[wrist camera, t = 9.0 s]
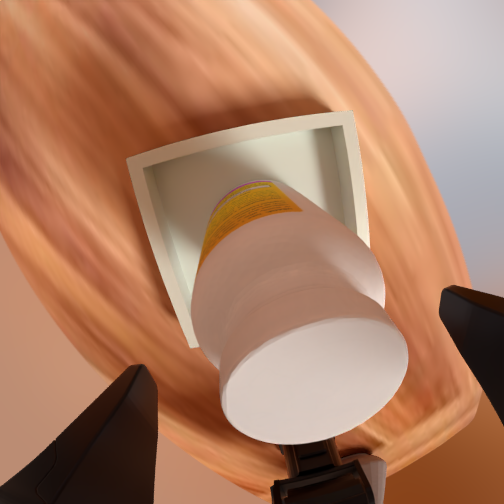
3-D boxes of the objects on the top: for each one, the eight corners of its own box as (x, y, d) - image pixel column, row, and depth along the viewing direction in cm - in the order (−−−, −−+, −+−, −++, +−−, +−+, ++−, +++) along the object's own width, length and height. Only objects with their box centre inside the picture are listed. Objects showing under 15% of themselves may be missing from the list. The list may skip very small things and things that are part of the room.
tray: (357, 288, 21) (371, 305, 18) (193, 327, 21) (190, 348, 18) (336, 114, 16) (352, 110, 14) (139, 156, 16) (125, 158, 14)
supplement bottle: (192, 258, 18) (146, 436, 6) (233, 161, 16) (242, 201, 4) (285, 293, 19) (344, 462, 8) (331, 206, 18) (478, 315, 6)
